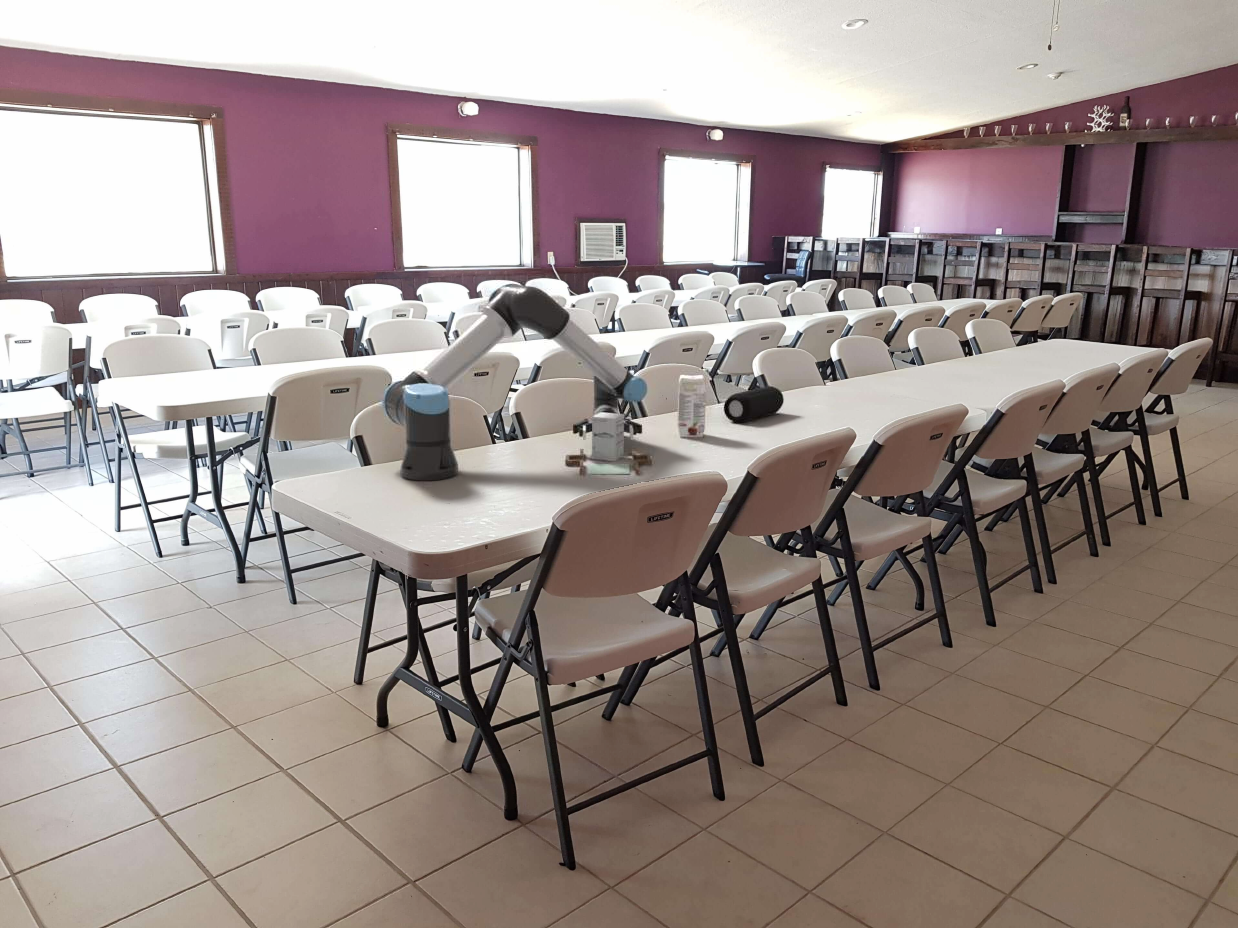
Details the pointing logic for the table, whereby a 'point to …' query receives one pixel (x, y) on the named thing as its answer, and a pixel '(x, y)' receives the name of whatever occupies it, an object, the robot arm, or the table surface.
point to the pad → (608, 469)
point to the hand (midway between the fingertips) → (608, 435)
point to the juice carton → (691, 406)
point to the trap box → (638, 458)
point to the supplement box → (607, 436)
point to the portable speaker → (753, 404)
